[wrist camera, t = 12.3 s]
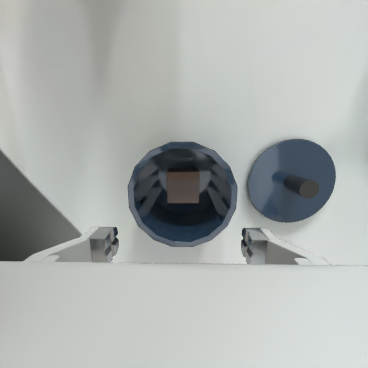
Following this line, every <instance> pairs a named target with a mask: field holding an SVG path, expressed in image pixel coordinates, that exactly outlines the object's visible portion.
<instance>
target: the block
mask: <svg viewBox="0 0 368 368" xmlns="http://www.w3.org/2000/svg"><path fill="white" fill-rule="evenodd" d="M199 173H200V172H199V170H198V168H169V169H168V171H167V172H166V174H167V203H199Z"/></svg>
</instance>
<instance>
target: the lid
mask: <svg viewBox="0 0 368 368" xmlns="http://www.w3.org/2000/svg"><path fill="white" fill-rule="evenodd" d="M335 179H336V172H335V166H334V163H333V161H332V159H331V157H330V155H329V154H328V153H327V152H326V150H325V149H324V148H322V147H321V146H320V145H318V144H316V143H314V142H311V141H308V140H303V139H291V140H285V141H282V142H279V143H276V144H274V145H272V146H271V147H269V148H268V149H266V150H265V151H264V152H263V153H262V154H261V155H260V156H259V157H258V158H257V160H256V161H255V163H254V164H253V166H252V168H251V171H250V174H249V178H248V192H249V196H250V199H251V201H252V203H253V205H254V206H255V208H256V209H257V210H258V211H259V212H260V213H261V214H262V215H264V216H265V217H267V218H269V219H271V220H274V221H278V222H286V223H287V222H296V221H300V220H303V219H306V218H308V217H310V216H312V215H313V214H315V213H316V212H318V211H319V210H320V209H321V208H322V207H323V206H324V205H325V204H326V202H327V201H328V199H329V198H330V196H331V194H332V191H333V189H334V185H335Z"/></svg>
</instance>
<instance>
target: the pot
mask: <svg viewBox="0 0 368 368" xmlns="http://www.w3.org/2000/svg"><path fill="white" fill-rule="evenodd" d="M169 168H198V170H199V172H200V173H199V203H167V174H166V172H167V171H168V169H169ZM128 199H129V208H130V210H131V212H132V214H133V216H134V218H135V220H136V222H137V224H138V226H139V227H140V228H141V229H142V230H144V231H145V232H146V233H147V234H148V235H149V236H150V237H151V238H153V239H154V240H156V241H159V242H162V243H164V244H167V245H169V246H173V247H192V246H196V245H199V244H202V243H204V242H207V241H210V240H211V239H213V238H214V237H215V236H217V235H218V234H219V233H220V232H221V231H222V230H223V229H225V228H226V227H227V225H228V223H229V221H230V219H231V217H232V215H233V214H234V212H235V210H236V202H237V185H236V182H235V179H234V176H233V174H232V171H231V168H230V166H229V165H228V164H227V163H226V162H225V161H224V160H223V159H222V158H221V157H220V156H219V155H218V154H217V153H216V152H215V151H214V150H211V149H209V148H207V147H204V146H202V145H200V144H197V143H195V142H170V143H167V144H165V145H163V146H160V147H158V148H156V149H153V150H151V151H149V152H148V153H147V154H146V156H145V157H144V158H143V159H142V160H141V161H140V162H139V163H138V164H137V165H136V166H135V168H134V171H133V173H132V176H131V179H130V182H129V185H128Z"/></svg>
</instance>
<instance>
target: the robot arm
mask: <svg viewBox="0 0 368 368" xmlns="http://www.w3.org/2000/svg"><path fill="white" fill-rule="evenodd" d="M117 234H118V231H117V228H116V227H91V228H90V229H89V230H88V231H87V232H85V233H84V234H83V235H82V236H81V237H80V238H76V239H73V240H71V241H68V242H65V243H63V244H60V245H57V246H54V247H52V248H49V249H46V250H44V251H41V252H38V253H36V254H33V255H31V256H30V257H28V258H27V259H26V260H24V261H23V262H19V261H17V262H16V261H14V262H13V261H0V368H368V265H332V264H331V263H330V262H328V261H327V260H326V259H325V258H323V257H321V256H318V255H316V254H314V253H311V252H309V251H306V250H304V249H302V248H299V247H297V246H294V245H292V244H290V243H287V242H285V241H282V240H278V238H277V237H276V236H275V235H274V234H273V233H272V232H271V231H270V230H269V229H268V228H243V230H242V236H243V238H244V239H243V240H242V241H241V251H242V254H243V256H244V257H246V262H247V264H193V263H110V262H111V261H112V257H113V256H114V255H116V253H117V251H118V247H119V241H118V239H117V238H116V236H117Z"/></svg>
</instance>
